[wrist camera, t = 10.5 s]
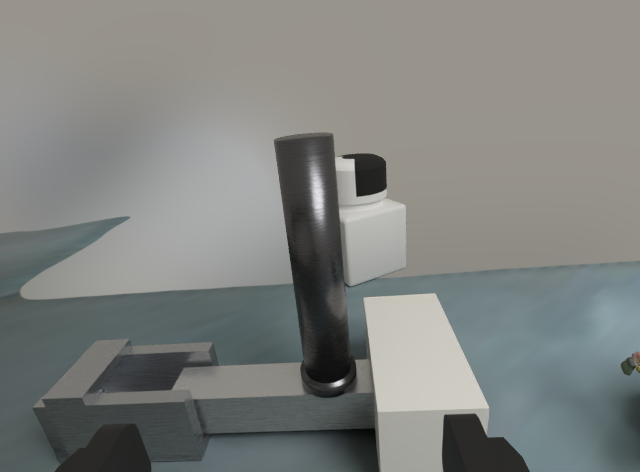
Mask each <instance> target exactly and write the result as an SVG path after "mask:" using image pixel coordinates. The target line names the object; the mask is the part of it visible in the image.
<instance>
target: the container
mask: <svg viewBox="0 0 640 472" xmlns="http://www.w3.org/2000/svg"><path fill="white" fill-rule="evenodd" d="M335 165H336V177H337V190H338V203H339V216H340V229H341V241H342V254H343V267H344V280H345V283H346V284H347V285H348V286H350V287H352V286H355V285H358V284H361V283H364V282H367V281H370V280H372V279H375V278H378V277H381V276H384V275H387V274H390V273H393V272H396V271H398V270H401V269H404V268H405V267H406V207H405V205H404V204H401V203H398V202H395V201H393V200H390V199H387V198H385V197H386V195H387V184H386V161H385V160H384V159H383V158H382V157H379V156H377V155H374V154H349V155H343V156H338V157H335Z"/></svg>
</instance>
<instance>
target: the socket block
mask: <svg viewBox="0 0 640 472" xmlns="http://www.w3.org/2000/svg"><path fill="white" fill-rule="evenodd" d="M364 313H365V331H366V348H367V359H370V367H371V375H372V384H373V394H374V413H375V433H376V448H377V458H378V467H379V472H443V466H442V440H443V419H444V415H445V414H472V413H475V414H476V415H477V416H478V417H479V419H480V421H481V424H482V426H483V428H484V431H485V433H486V435H487V426H488V416H489V406H488V404H487V402H486V400H485V398H484V396H483V394H482V392H481V390H480V387H479V385H478V383H477V381H476V379H475V377H474V375H473V373H472V370H471V368H470V366H469V364H468V362H467V360H466V358H465V356H464V353H463V351H462V349H461V347H460V345H459V343H458V341H457V339H456V336H455V334H454V332H453V330H452V328H451V326H450V324H449V322H448V319H447V317H446V315H445V313H444V311H443V309H442V307H441V305H440V303H439V300H438V298H437V296H436V294H417V295H400V296H383V297H365V298H364Z"/></svg>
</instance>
